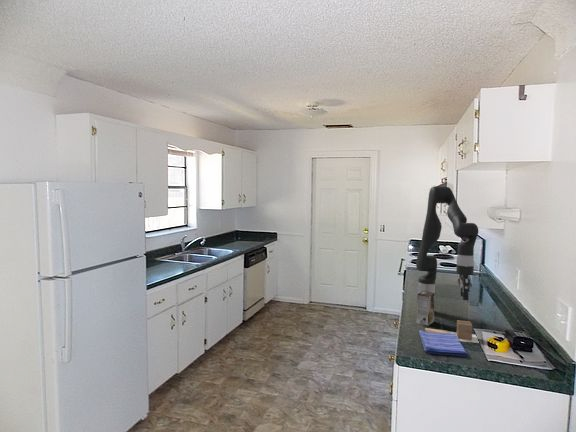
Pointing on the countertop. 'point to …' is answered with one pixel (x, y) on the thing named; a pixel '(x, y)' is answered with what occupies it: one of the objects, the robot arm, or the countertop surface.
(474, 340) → the tile
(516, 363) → the countertop surface
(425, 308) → the coffee box
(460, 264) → the robot arm
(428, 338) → the dish towel
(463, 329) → the walnut block
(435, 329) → the coaster
